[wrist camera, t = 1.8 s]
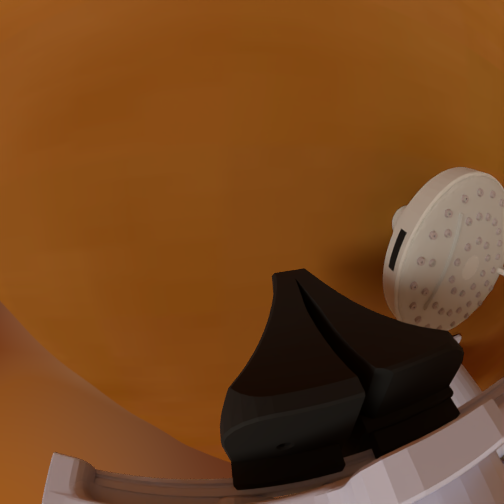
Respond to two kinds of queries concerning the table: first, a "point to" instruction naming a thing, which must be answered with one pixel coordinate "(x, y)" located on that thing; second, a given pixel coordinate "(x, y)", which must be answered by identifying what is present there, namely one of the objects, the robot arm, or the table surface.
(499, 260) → the showerhead
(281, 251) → the table surface
